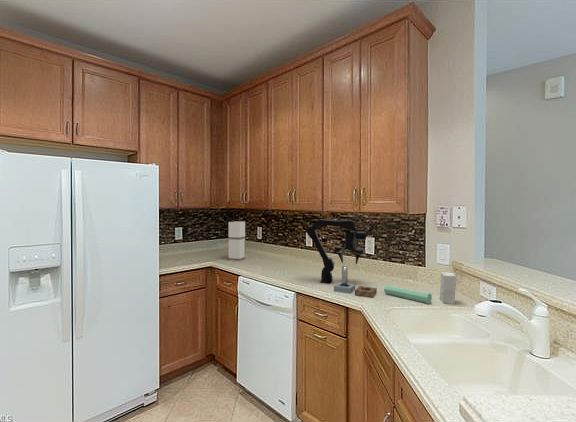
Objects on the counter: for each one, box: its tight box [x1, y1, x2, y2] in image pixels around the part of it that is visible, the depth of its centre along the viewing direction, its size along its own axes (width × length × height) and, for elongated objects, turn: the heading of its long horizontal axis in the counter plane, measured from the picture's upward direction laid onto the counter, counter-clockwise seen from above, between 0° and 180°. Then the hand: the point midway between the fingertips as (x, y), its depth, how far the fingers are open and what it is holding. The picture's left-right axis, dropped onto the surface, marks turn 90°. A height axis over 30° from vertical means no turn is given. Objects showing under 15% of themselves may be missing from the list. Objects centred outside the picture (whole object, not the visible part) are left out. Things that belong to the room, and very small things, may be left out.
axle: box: [341, 265, 349, 287], centre depth 178 cm, size 3×3×14 cm
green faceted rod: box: [383, 285, 433, 305], centre depth 163 cm, size 6×6×25 cm
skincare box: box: [439, 271, 457, 305], centre depth 158 cm, size 8×6×15 cm
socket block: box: [333, 281, 356, 295], centre depth 178 cm, size 10×10×3 cm
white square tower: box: [228, 220, 246, 262], centre depth 275 cm, size 11×11×35 cm
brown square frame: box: [354, 285, 378, 299], centre depth 170 cm, size 10×10×3 cm
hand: (349, 263), depth 192 cm, fingers open, 9 cm apart
